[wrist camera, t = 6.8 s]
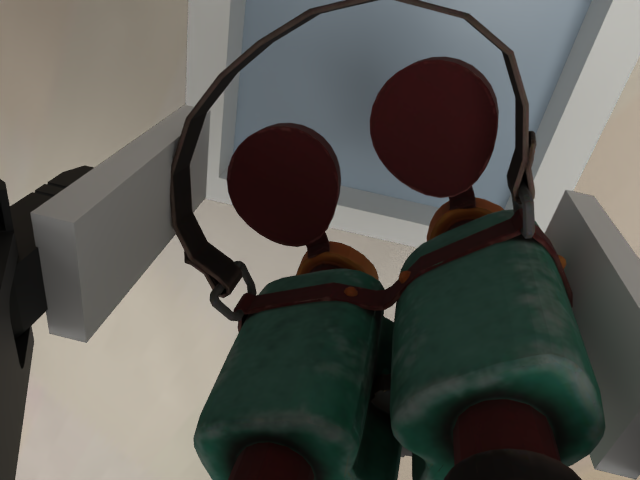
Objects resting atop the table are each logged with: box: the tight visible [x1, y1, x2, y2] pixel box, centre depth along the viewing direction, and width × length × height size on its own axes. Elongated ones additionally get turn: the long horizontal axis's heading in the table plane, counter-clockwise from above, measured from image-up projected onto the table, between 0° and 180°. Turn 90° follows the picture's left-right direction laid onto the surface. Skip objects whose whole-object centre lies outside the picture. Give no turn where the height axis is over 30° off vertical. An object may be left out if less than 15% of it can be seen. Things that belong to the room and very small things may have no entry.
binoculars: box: [170, 0, 605, 480], centre depth 11 cm, size 9×11×10 cm
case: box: [185, 0, 640, 248], centre depth 25 cm, size 16×20×4 cm
